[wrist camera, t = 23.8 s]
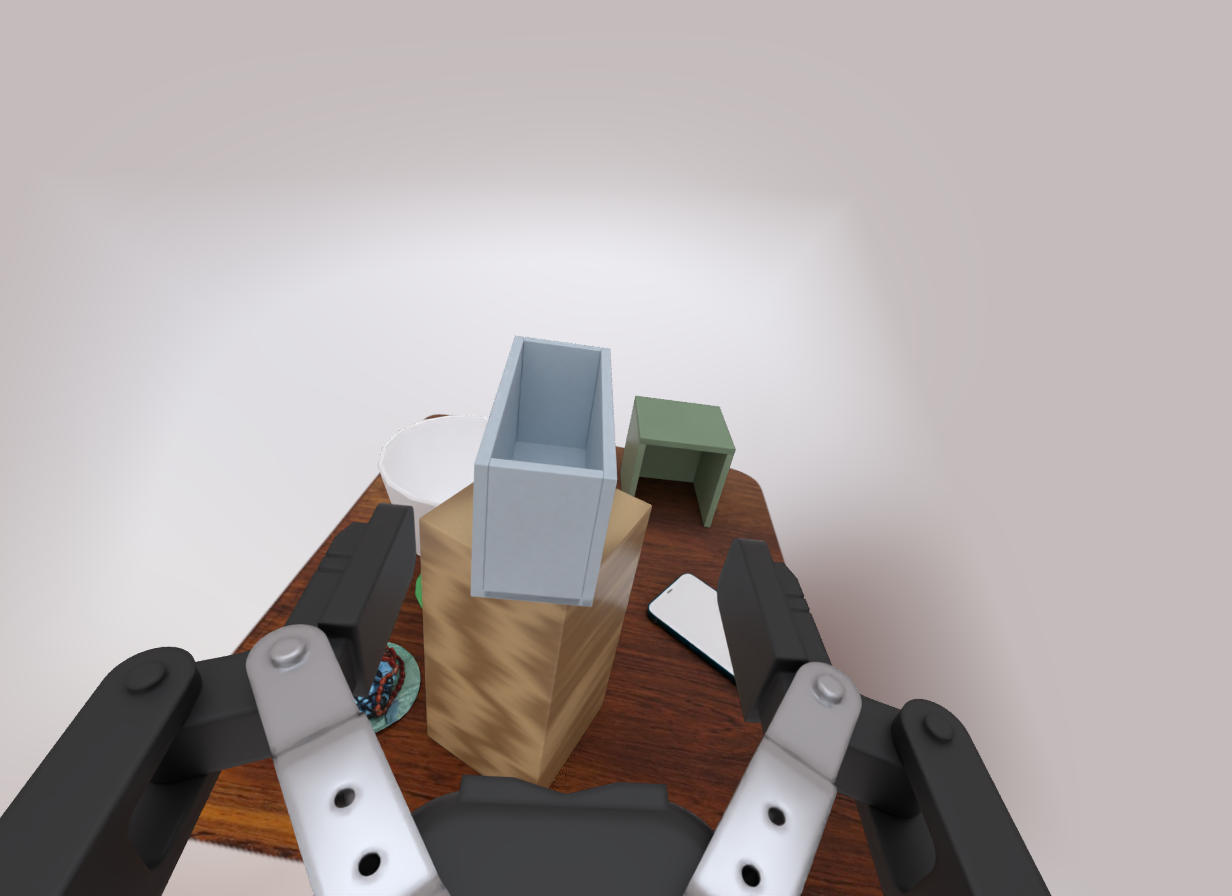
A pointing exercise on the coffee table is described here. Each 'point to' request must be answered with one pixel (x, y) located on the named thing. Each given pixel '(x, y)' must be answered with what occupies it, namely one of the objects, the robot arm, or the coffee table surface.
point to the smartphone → (694, 620)
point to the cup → (430, 464)
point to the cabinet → (678, 448)
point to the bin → (545, 476)
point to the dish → (391, 688)
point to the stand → (518, 649)
